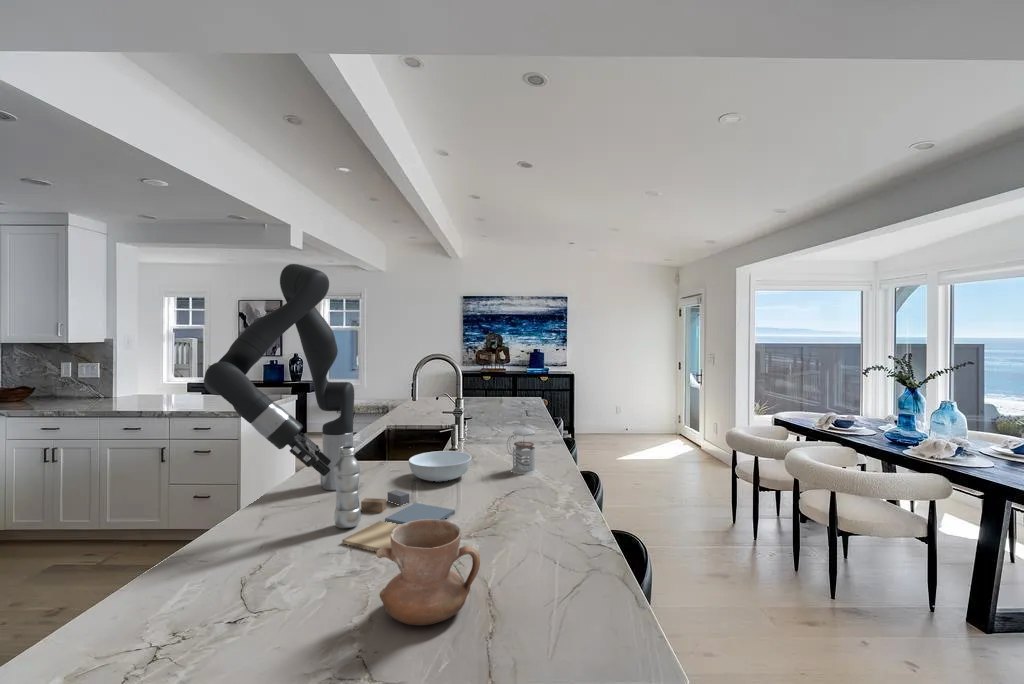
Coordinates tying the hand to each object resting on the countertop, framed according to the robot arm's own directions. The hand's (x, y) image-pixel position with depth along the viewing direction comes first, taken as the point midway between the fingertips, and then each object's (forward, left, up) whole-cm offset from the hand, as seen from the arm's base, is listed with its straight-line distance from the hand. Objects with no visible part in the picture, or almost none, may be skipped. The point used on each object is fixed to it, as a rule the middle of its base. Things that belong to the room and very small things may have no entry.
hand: (328, 468), depth 125 cm
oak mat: (+16, +1, -15) cm, 22 cm away
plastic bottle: (+3, +3, -15) cm, 16 cm away
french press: (+21, +69, -15) cm, 74 cm away
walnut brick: (+1, +15, -15) cm, 22 cm away
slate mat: (+16, +16, -15) cm, 27 cm away
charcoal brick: (+3, +23, -15) cm, 28 cm away
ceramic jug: (+44, -20, -15) cm, 51 cm away
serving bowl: (0, +49, -15) cm, 52 cm away
